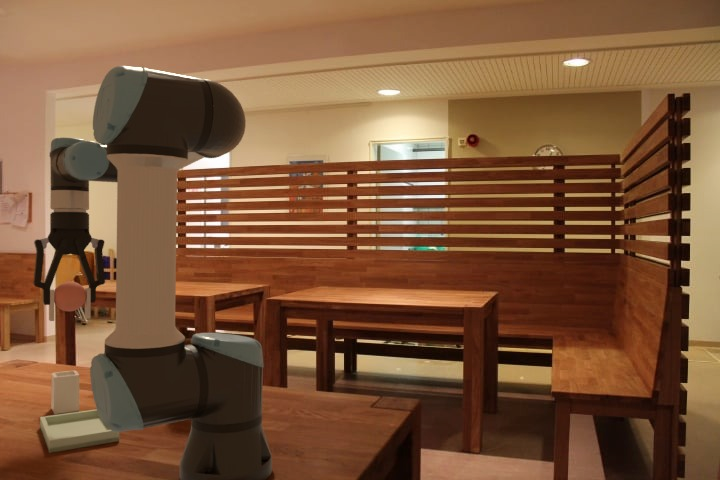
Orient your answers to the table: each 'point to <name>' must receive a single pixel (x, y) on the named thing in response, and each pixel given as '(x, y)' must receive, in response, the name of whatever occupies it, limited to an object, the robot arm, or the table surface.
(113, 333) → the robot arm
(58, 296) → the ball
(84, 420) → the tray
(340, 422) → the table surface
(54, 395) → the hollow square tube
